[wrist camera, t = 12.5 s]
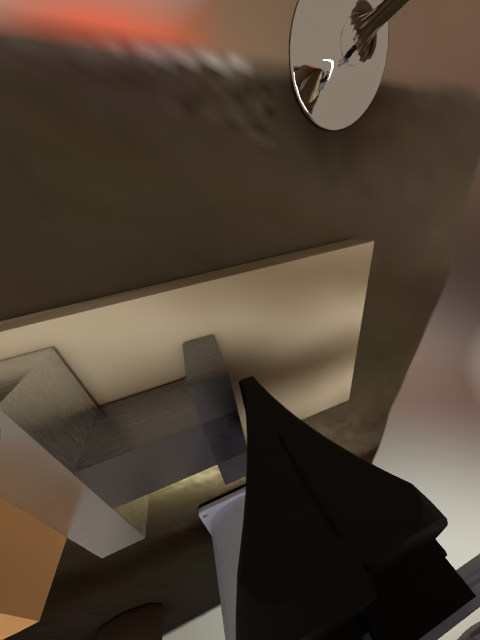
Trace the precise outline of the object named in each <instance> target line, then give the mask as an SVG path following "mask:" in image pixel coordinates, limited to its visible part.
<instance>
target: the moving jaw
mask: <svg viewBox="0 0 480 640" xmlns="http://www.w3.org/2000/svg"><path fill="white" fill-rule="evenodd" d="M182 345H183V355H184V366H185V376H186V379H184V380H181V381H178V382H175V383H172V384H169V385H166V386H163V387H160V388H157V389H154V390H151V391H148V392H145V393H142V394H139V395H136V396H133V397H130V398H127V399H124V400H121V401H118V402H115V403H112V404H109V405H106V406H103V407H100V408H98V407H97V406H96V405H95V403H94V402H93V401H92V399H91V398H90V397H89V395H88V394H87V393H86V392H85V390H84V389H83V388H82V386H81V385H80V384H79V382H78V381H77V380H76V378H75V377H74V376H73V374H72V373H71V372H70V370H69V369H68V368H67V367H66V365H65V364H64V363H63V361H62V360H61V359H60V357H59V356H58V355H57V353H56V352H55V351H54V349H53V348H49V349H46V350H42V351H38V352H34V353H31V354H27V355H23V356H19V357H16V358H12V359H8V360H4V361H1V362H0V498H2V499H4V500H5V501H7V502H9V503H10V504H12V505H14V506H15V507H17V508H19V509H20V510H22V511H24V512H25V513H27V514H29V515H30V516H32V517H34V518H35V519H37V520H39V521H41V522H42V523H44V524H46V525H47V526H49V527H51V528H52V529H54V530H56V531H57V532H59V533H61V534H62V535H64V536H66V537H67V538H69V539H70V540H72V541H74V542H76V543H77V544H79V545H81V546H82V547H84V548H86V549H87V550H89V551H91V552H92V553H94V554H96V555H97V556H99V557H101V558H103V557H106V556H108V555H110V554H112V553H114V552H116V551H118V550H121V549H123V548H125V547H127V546H129V545H131V544H133V543H135V542H138V541H140V540H142V539H144V538H145V532H146V520H147V508H148V496H149V494H150V493H152V492H154V491H157V490H159V489H161V488H164V487H166V486H168V485H171V484H173V483H175V482H178V481H180V480H182V479H185V478H187V477H189V476H192V475H194V474H196V473H199V472H201V471H203V470H206V469H208V468H210V467H213V466H215V465H218V467H219V470H220V472H221V475H222V477H223V479H224V482H225V484H229V483H231V482H233V481H235V480H237V479H240V478H242V477H244V476H246V473H247V445H246V441H245V437H244V433H243V429H242V425H241V420H240V416H239V412H238V408H237V404H236V400H235V396H234V392H233V388H232V384H231V380H230V376H229V372H228V370H227V367H226V364H225V362H224V359H223V357H222V354H221V351H220V349H219V346H218V344H217V341H216V338H215V336H214V335H212V336H208V337H205V338H202V339H198V340H195V341H192V342H188V343H185V344H182Z"/></svg>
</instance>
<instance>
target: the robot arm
mask: <svg viewBox="0 0 480 640" xmlns="http://www.w3.org/2000/svg"><path fill="white" fill-rule="evenodd" d="M239 386H240V391H241V396H242V400H243V405H244V408H245V413H246V427H247V473H246V487H244V488H242V489H239V490H237V491H235V492H233V493H231V494H229V495H226V496H224V497H222V498H220V499H218V500H216V501H214V502H211V503H209V504H207V505H205V506H203V507H201V508H200V509H199V510H198V513H199V517H200V519H201V520H202V522H203V523H204V525H205V526H206V528H207V529H208V531H209V532H210V534H211V536H212V540H213V548H214V555H215V563H216V570H217V578H218V586H219V593H220V601H221V608H222V616H223V624H224V632H225V639H226V640H437V639H439V638H440V637H441V636H443V635H444V634H445V633H447V632H448V631H449V630H450V629H452V628H453V627H454V626H456V625H457V624H458V623H459V622H461V621H462V620H463V619H465V618H466V617H467V616H468V615H470V614H471V613H472V612H474V611H475V610H476V609H478V608H479V607H480V554H479V555H477V556H476V557H474V558H473V559H472V560H470V561H469V562H467V563H466V564H464V565H463V566H462V567H460V568H459V569H457V570H455V569H454V568H453V567H452V565H451V564H450V563H449V562H448V560H447V559H446V558H445V557H446V556H447V553H446V551H445V550H444V549H443V548H442V547H441V545H440V544H439V543H438V542H437V540H436V537H437V536H438V535H439V534H440V533H441V532H442V531H443V530H444V529H445V527H446V526H447V524H448V522H447V518H446V517H445V516H444V515H443V514H442V513H441V512H440V511H439V510H438V509H437V508H436V507H435V505H434V504H433V503H432V502H431V501H430V500H429V499H428V498H426V496H424V495H423V494H422V493H421V492H420V491H419V490H418V489H417V488H416V487H414V485H413V484H411V483H409V482H407V481H405V480H403V479H400V478H399V477H396V476H394V475H392V474H390V473H388V472H386V471H384V470H382V469H380V468H378V467H376V466H375V465H373V464H371V463H369V462H367V461H365V460H363V459H362V458H360V457H358V456H356V455H354V454H353V453H351V452H349V451H348V450H346V449H344V448H343V447H341V446H339V445H337V444H336V443H334V442H332V441H331V440H329V439H328V438H326V437H325V436H323V435H322V434H320V433H319V432H317V431H316V430H314V429H313V428H311V427H310V426H308V425H307V424H306V423H304V422H303V421H302V420H300V419H299V418H298V417H296V416H295V415H294V414H293V413H291V412H290V411H289V410H288V409H287V408H285V407H284V406H283V405H282V404H281V403H280V402H279V401H277V400H276V399H275V398H274V397H273V396H272V395H271V394H270V393H269V392H268V391H267V390H266V389H265V388H264V387H263V386H262V385H261V384H260V383H259V382H258V381H257V380H256V378H255V377H253V376H251V377H248V378H245V379H242V380H240V381H239ZM457 640H480V622H478V623H476V624H474V625H473V626H471V627H470V628H469V629H468V630H466V631H465V632H464V633H463V634H462V635H461V636H460V638H459V639H457Z"/></svg>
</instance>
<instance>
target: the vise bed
mask: <svg viewBox="0 0 480 640" xmlns="http://www.w3.org/2000/svg"><path fill="white" fill-rule="evenodd" d="M373 246H374V241H370V240H359V239H348V240H344V241H340V242H336V243H331V244H327V245H323V246H318V247H314V248H310V249H306V250H301V251H297V252H293V253H289V254H284V255H280V256H276V257H272V258H267V259H263V260H259V261H255V262H250V263H246V264H242V265H237V266H233V267H229V268H225V269H220V270H216V271H212V272H208V273H203V274H199V275H195V276H191V277H186V278H182V279H178V280H174V281H169V282H165V283H161V284H156V285H152V286H148V287H144V288H139V289H135V290H131V291H127V292H122V293H118V294H114V295H110V296H105V297H101V298H97V299H93V300H88V301H84V302H80V303H75V304H71V305H67V306H63V307H58V308H54V309H50V310H46V311H41V312H37V313H33V314H29V315H24V316H20V317H16V318H12V319H7V320H3V321H0V362H1V361H4V360H8V359H12V358H16V357H19V356H23V355H27V354H31V353H34V352H38V351H42V350H46V349H49V348H53V349H54V351H55V352H56V353H57V355H58V356H59V357H60V359H61V360H62V361H63V363H64V364H65V365H66V367H67V368H68V369H69V370H70V372H71V373H72V374H73V376H74V377H75V378H76V380H77V381H78V382H79V384H80V385H81V386H82V388H83V389H84V390H85V392H86V393H87V394H88V395H89V397H90V398H91V399H92V401H93V402H94V403H95V405H96V406H97V407H98V408H100V407H103V406H106V405H109V404H112V403H115V402H118V401H121V400H124V399H127V398H130V397H133V396H136V395H139V394H142V393H145V392H148V391H151V390H154V389H157V388H160V387H163V386H166V385H169V384H172V383H175V382H178V381H181V380H184V379H186V376H185V366H184V355H183V345H182V344H185V343H188V342H192V341H195V340H198V339H202V338H205V337H208V336H212V335H214V336H215V338H216V341H217V344H218V346H219V349H220V351H221V354H222V357H223V359H224V362H225V364H226V367H227V370H228V372H229V376H230V380H231V384H232V388H233V392H234V396H235V400H236V404H237V408H238V412H239V416H240V420H241V425H242V429H243V433H244V437H245V441H246V443H247V427H246V413H245V408H244V405H243V400H242V396H241V391H240V386H239V381H240V380H242V379H245V378H248V377H251V376H253V377H255V378H256V380H257V381H258V382H259V383H260V384H261V385H262V386H263V387H264V388H265V389H266V390H267V391H268V392H269V393H270V394H271V395H272V396H273V397H274V398H275V399H276V400H277V401H279V402H280V403H281V404H282V405H283V406H284V407H285V408H287V409H288V410H289V411H290V412H291V413H293V414H294V415H295V416H296V417H298V418H299V419H300V420H302V419H304V418H306V417H309V416H311V415H314V414H316V413H318V412H321V411H323V410H326V409H328V408H330V407H333V406H335V405H337V404H340V403H342V402H345V401H347V400H349V395H350V389H351V383H352V376H353V370H354V364H355V358H356V352H357V345H358V339H359V333H360V327H361V321H362V314H363V308H364V302H365V296H366V290H367V283H368V277H369V271H370V265H371V258H372V252H373Z"/></svg>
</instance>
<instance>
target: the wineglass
mask: <svg viewBox="0 0 480 640" xmlns="http://www.w3.org/2000/svg"><path fill="white" fill-rule="evenodd" d="M408 1H409V0H298V2H297V5H296V8H295V11H294V15H293V20H292V24H291V30H290V38H289V68H290V75H291V80H292V85H293V89H294V92H295V95H296V98H297V101H298V103H299V105H300V107H301V109H302V110H303V112H304V114H305V115H306V117H307V118H308V119H309V120H310V121H311V122H312V123H313V124H314V125H316V126H317V127H319V128H321V129H323V130H327V131H338V130H343V129H345V128H347V127H349V126H351V125H352V124H353V123H354V122H356V121H357V120H358V119H359V118H360V117H361V116H362V115H363V114H364V112H365V111H366V110H367V108H368V107H369V105H370V104H371V102H372V100H373V99H374V97H375V95H376V92H377V90H378V88H379V85H380V82H381V80H382V76H383V73H384V69H385V64H386V59H387V52H388V41H389V22H388V20H389V19H390V18H391V17H392V16H393V15H394V14H395V13H396V12H397V11H398V10H400V8H402V7H403V6H404V5H405V4H406V3H407V2H408Z"/></svg>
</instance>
